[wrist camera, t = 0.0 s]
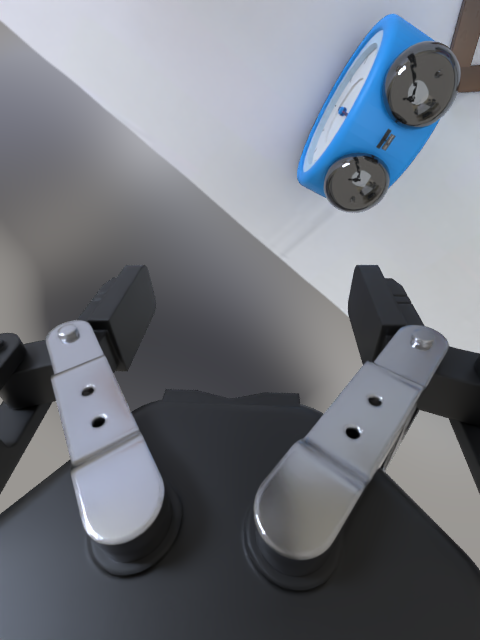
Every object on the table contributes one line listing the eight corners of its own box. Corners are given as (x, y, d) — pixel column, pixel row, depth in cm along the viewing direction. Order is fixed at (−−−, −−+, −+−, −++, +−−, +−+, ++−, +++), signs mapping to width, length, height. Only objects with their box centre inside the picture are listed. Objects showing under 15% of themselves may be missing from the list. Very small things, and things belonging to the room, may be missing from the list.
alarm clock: (367, 18, 29) (429, -7, 18) (422, 56, 31) (515, 55, 19) (292, 162, 37) (300, 211, 25) (338, 187, 38) (367, 245, 27)
